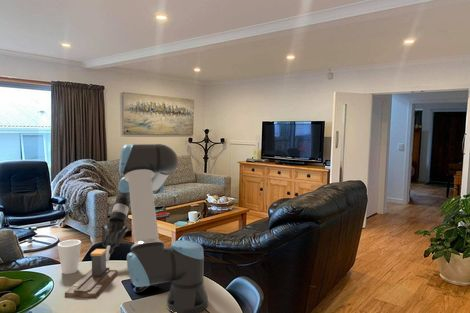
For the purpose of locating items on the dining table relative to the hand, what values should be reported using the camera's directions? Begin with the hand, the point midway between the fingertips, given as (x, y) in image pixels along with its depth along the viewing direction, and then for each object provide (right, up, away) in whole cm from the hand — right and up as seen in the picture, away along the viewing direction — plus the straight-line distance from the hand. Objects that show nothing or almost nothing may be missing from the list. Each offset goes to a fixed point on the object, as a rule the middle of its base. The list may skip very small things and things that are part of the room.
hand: (105, 260), depth 155 cm
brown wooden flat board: (0, -6, -13) cm, 14 cm away
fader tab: (0, -4, -7) cm, 8 cm away
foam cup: (-16, -5, 0) cm, 17 cm away
